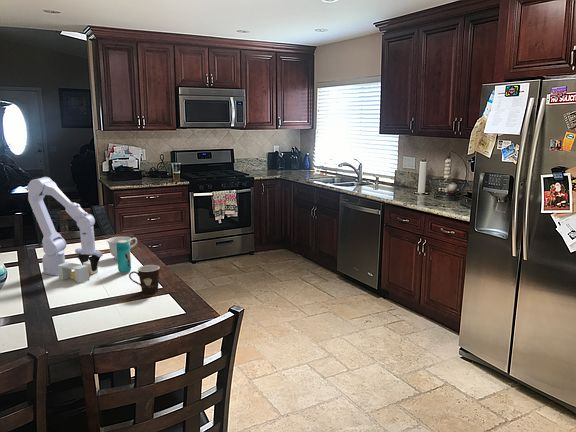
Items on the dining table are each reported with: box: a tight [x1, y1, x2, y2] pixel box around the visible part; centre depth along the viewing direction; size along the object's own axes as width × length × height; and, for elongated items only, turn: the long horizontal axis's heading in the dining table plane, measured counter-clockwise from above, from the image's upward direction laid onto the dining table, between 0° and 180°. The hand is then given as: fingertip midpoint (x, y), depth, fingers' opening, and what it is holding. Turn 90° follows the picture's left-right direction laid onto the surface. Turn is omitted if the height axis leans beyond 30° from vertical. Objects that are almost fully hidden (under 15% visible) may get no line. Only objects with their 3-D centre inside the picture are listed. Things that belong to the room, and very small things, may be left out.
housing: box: [58, 261, 90, 284], centre depth 208 cm, size 12×5×6 cm, turn 67°
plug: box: [70, 260, 99, 281], centre depth 213 cm, size 4×12×5 cm, turn 157°
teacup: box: [106, 235, 138, 261], centre depth 240 cm, size 12×15×10 cm
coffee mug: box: [128, 264, 160, 295], centre depth 195 cm, size 12×9×10 cm
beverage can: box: [116, 240, 132, 275], centre depth 217 cm, size 6×6×15 cm
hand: (90, 269), depth 217 cm, fingers closed on plug, 4 cm apart
